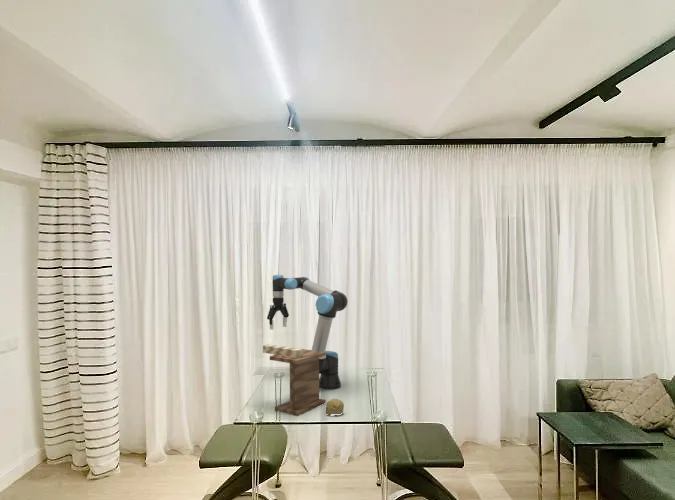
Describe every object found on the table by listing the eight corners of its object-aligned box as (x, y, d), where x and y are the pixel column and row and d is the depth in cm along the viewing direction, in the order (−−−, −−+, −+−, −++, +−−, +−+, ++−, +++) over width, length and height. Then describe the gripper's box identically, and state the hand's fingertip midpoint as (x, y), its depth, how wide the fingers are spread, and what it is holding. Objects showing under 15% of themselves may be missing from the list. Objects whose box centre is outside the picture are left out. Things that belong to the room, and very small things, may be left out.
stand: (269, 409, 268) (269, 355, 268) (298, 397, 289) (298, 347, 290) (297, 416, 257) (297, 360, 257) (325, 403, 278) (325, 351, 278)
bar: (262, 352, 277) (262, 345, 277) (268, 351, 280) (268, 344, 280) (297, 357, 262) (297, 350, 262) (302, 356, 266) (302, 349, 266)
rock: (329, 417, 265) (320, 402, 264) (346, 406, 266) (337, 391, 265) (331, 424, 256) (321, 409, 254) (348, 413, 257) (339, 398, 255)
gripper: (285, 295, 339) (285, 325, 339) (261, 298, 318) (261, 330, 318) (293, 296, 335) (293, 326, 335) (270, 298, 314) (270, 331, 314)
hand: (278, 328), depth 327 cm, fingers open, 13 cm apart
